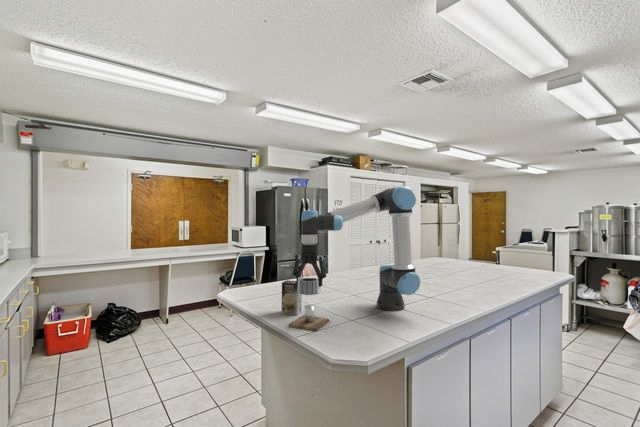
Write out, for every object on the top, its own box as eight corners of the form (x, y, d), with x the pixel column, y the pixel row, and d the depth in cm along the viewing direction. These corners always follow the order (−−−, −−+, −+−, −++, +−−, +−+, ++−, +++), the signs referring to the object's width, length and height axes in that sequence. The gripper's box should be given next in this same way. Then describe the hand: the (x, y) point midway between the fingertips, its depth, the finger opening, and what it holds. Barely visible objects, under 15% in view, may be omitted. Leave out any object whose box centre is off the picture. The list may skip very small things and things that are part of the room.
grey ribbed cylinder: (322, 291, 147) (322, 278, 147) (313, 295, 138) (313, 282, 139) (305, 289, 150) (305, 277, 150) (295, 293, 142) (295, 280, 142)
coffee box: (280, 313, 159) (280, 282, 160) (286, 310, 166) (286, 280, 166) (297, 315, 156) (297, 283, 157) (302, 312, 163) (302, 281, 163)
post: (316, 320, 145) (316, 305, 145) (311, 323, 141) (311, 308, 141) (307, 319, 147) (307, 304, 147) (303, 322, 143) (303, 306, 143)
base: (329, 321, 148) (329, 318, 148) (316, 331, 135) (316, 328, 135) (303, 317, 154) (303, 315, 154) (288, 326, 141) (288, 323, 141)
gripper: (334, 243, 144) (333, 292, 143) (293, 242, 153) (292, 288, 152) (327, 245, 137) (327, 296, 136) (285, 243, 146) (284, 291, 146)
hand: (309, 292), depth 144 cm, fingers closed on grey ribbed cylinder, 9 cm apart
